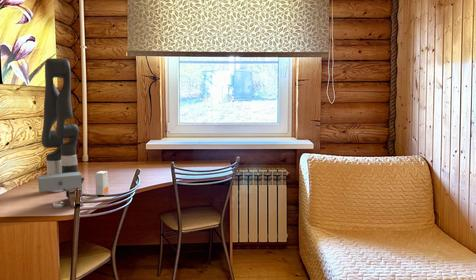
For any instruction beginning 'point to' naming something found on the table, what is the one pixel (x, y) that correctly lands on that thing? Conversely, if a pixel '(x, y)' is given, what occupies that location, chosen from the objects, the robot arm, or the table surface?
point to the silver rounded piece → (58, 204)
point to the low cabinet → (60, 182)
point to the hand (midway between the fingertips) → (71, 197)
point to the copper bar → (72, 196)
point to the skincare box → (101, 182)
